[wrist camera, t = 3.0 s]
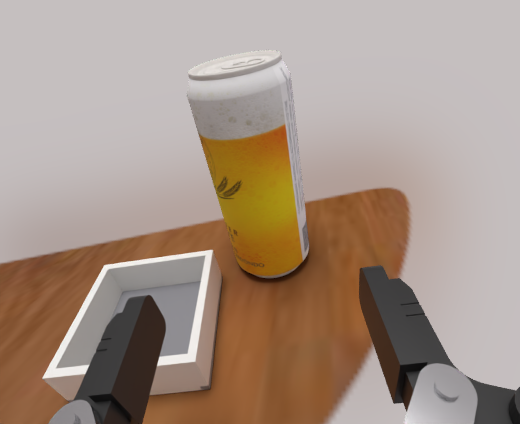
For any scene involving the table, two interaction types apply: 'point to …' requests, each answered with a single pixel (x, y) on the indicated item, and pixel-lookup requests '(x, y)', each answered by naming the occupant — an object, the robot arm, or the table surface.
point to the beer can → (253, 157)
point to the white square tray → (172, 308)
